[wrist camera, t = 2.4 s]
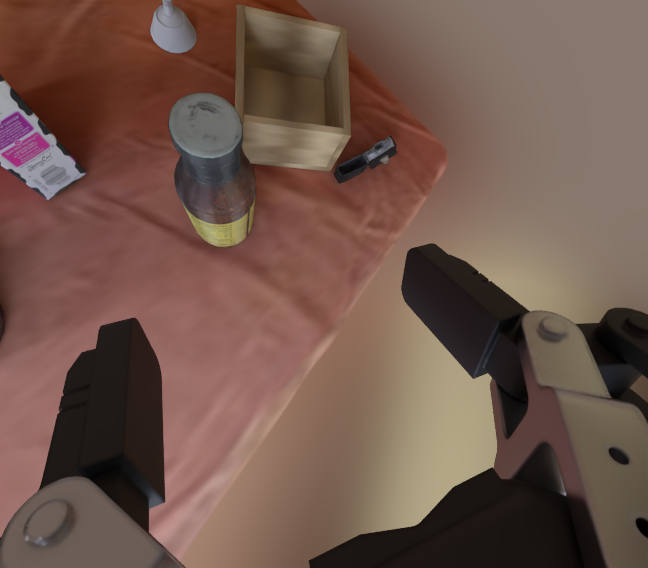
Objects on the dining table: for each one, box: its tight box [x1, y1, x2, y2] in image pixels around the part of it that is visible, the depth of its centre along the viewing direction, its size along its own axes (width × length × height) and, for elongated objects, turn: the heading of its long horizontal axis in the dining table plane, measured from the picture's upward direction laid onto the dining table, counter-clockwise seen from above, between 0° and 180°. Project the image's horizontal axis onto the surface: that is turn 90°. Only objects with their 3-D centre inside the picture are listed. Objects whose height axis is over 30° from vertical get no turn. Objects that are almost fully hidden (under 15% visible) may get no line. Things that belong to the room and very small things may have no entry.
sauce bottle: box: [168, 93, 256, 248], centre depth 28 cm, size 7×6×20 cm
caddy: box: [235, 4, 351, 172], centre depth 38 cm, size 12×13×8 cm
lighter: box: [334, 136, 397, 183], centre depth 41 cm, size 8×2×5 cm
